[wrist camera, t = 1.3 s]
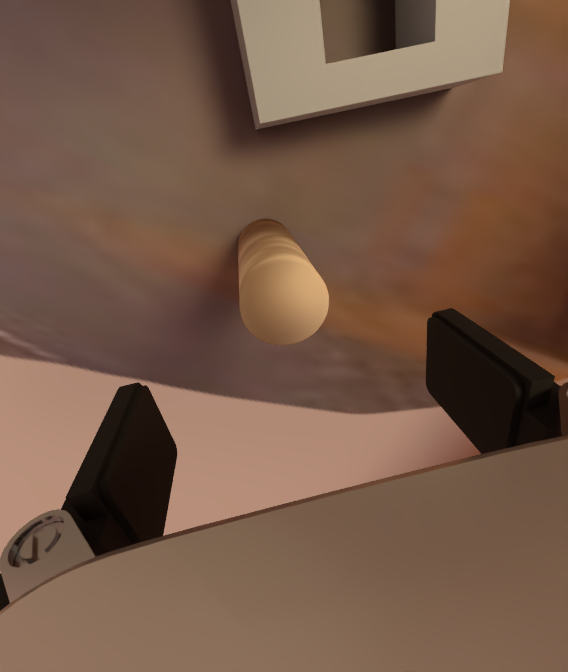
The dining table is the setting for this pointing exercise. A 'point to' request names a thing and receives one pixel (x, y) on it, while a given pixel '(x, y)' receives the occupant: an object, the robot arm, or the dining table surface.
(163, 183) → the dining table surface
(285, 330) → the peg
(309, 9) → the socket block
